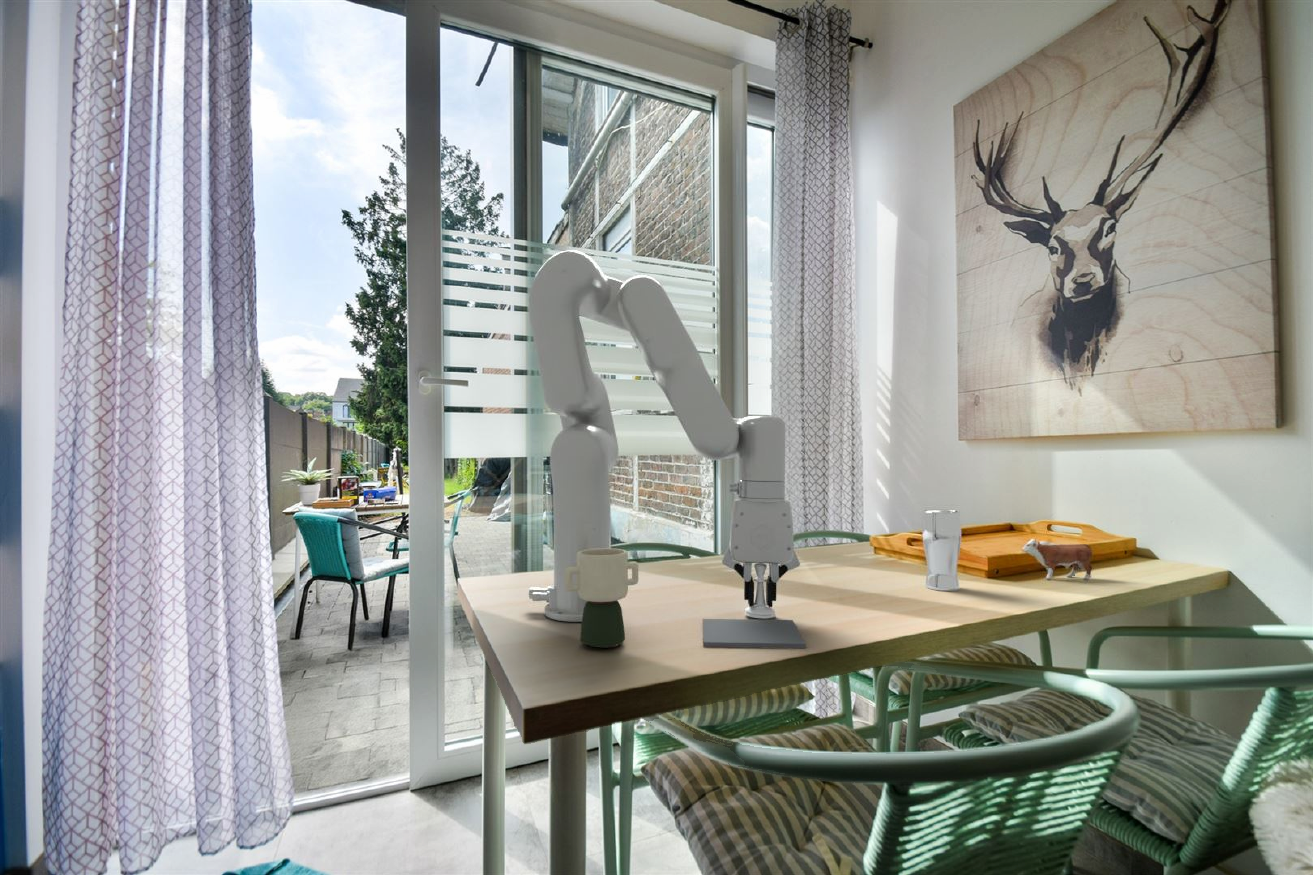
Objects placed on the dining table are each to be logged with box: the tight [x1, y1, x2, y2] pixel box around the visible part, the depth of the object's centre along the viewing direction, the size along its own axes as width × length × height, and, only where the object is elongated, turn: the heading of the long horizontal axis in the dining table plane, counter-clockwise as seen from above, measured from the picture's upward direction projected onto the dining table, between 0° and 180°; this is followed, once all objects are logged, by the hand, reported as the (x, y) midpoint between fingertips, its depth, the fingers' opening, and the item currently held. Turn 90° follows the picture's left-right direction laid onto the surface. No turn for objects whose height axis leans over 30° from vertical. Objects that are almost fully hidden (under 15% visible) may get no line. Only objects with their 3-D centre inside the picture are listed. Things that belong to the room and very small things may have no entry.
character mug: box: [565, 547, 639, 648], centre depth 87 cm, size 11×7×13 cm, turn 115°
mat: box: [702, 618, 807, 649], centre depth 91 cm, size 14×12×1 cm
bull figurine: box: [1021, 538, 1093, 581], centre depth 130 cm, size 4×13×8 cm, turn 82°
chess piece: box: [744, 563, 776, 620], centre depth 101 cm, size 5×5×10 cm
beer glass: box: [921, 509, 962, 592], centre depth 122 cm, size 7×7×15 cm
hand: (760, 603), depth 101 cm, fingers closed on chess piece
